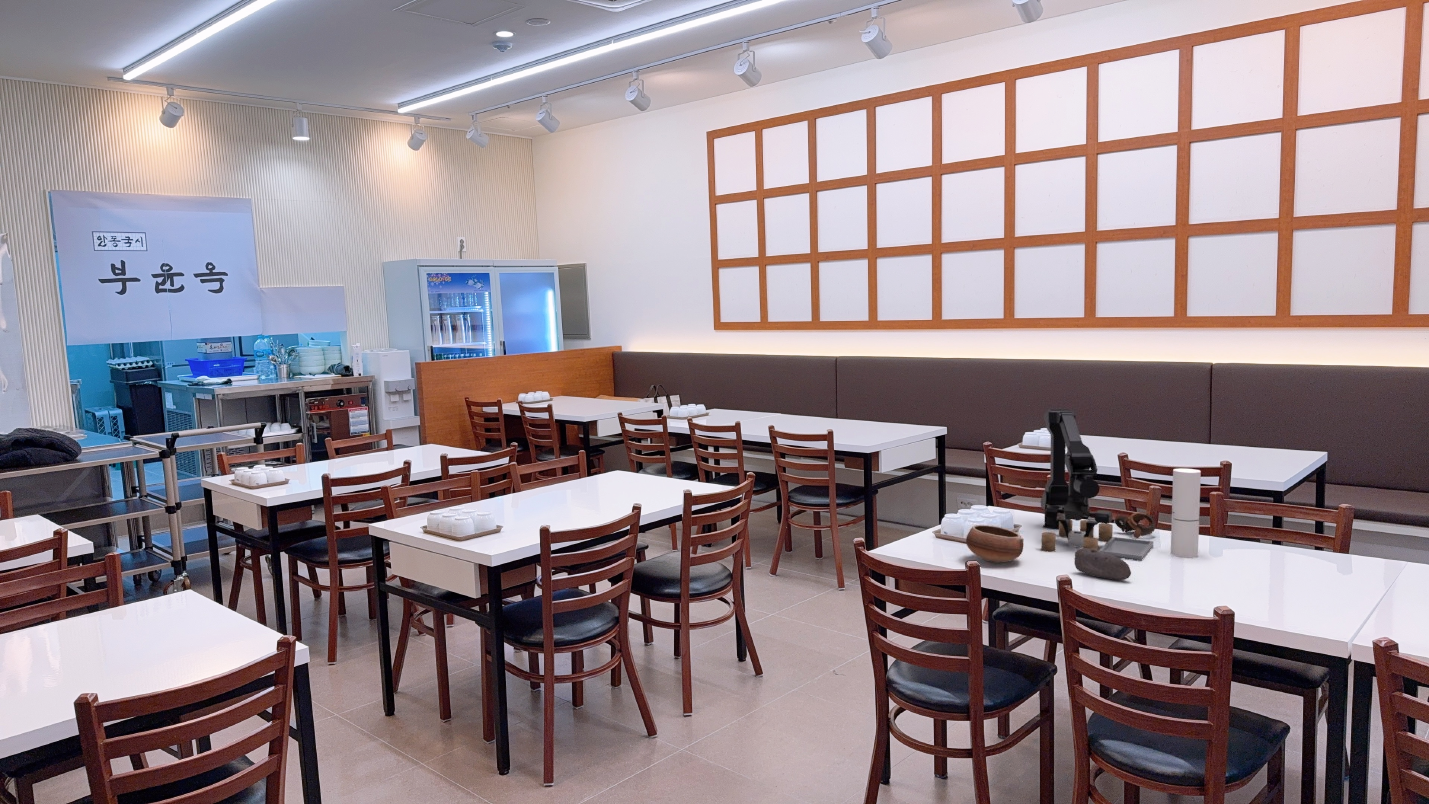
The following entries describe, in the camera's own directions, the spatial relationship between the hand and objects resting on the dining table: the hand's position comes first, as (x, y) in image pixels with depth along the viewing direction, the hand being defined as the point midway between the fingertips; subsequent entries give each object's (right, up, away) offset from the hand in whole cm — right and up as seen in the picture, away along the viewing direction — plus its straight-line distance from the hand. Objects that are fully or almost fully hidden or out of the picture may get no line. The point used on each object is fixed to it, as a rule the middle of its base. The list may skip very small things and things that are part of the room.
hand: (1077, 541), depth 285 cm
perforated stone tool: (-6, -5, -34) cm, 35 cm away
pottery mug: (+23, 0, +12) cm, 25 cm away
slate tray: (+12, -2, -8) cm, 14 cm away
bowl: (-31, -3, -16) cm, 35 cm away
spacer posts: (0, -1, 0) cm, 1 cm away
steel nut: (0, -1, 0) cm, 1 cm away
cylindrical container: (+26, -2, -13) cm, 29 cm away
